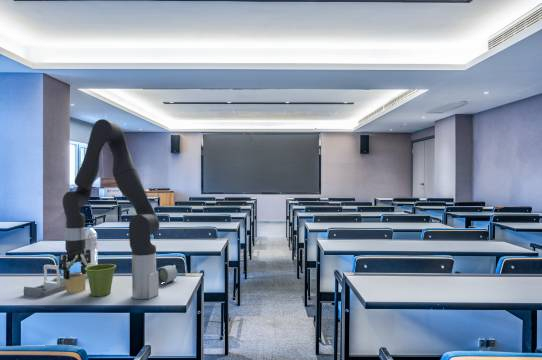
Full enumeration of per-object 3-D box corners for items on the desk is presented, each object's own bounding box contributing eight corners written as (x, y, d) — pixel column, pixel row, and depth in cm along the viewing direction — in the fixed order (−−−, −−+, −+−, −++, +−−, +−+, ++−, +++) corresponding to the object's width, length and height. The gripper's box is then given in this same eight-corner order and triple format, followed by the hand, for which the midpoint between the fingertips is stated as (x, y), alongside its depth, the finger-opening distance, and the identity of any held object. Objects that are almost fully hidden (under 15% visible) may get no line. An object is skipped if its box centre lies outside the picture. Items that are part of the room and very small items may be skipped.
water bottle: (91, 278, 177) (91, 226, 177) (78, 278, 179) (78, 226, 178) (100, 275, 184) (100, 224, 184) (88, 274, 185) (88, 224, 185)
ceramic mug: (178, 280, 173) (178, 264, 173) (168, 285, 165) (167, 268, 165) (159, 279, 177) (159, 262, 177) (148, 283, 169) (148, 266, 169)
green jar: (68, 286, 162) (68, 277, 162) (58, 290, 157) (58, 280, 157) (59, 285, 163) (59, 276, 163) (49, 289, 159) (49, 279, 159)
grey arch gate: (60, 289, 157) (60, 265, 156) (57, 290, 155) (56, 266, 155) (46, 288, 159) (46, 264, 159) (43, 289, 157) (43, 265, 157)
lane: (75, 287, 162) (75, 278, 162) (42, 299, 147) (42, 288, 147) (57, 285, 166) (57, 276, 166) (23, 296, 150) (23, 286, 150)
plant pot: (122, 291, 156) (122, 265, 156) (99, 300, 145) (99, 271, 145) (102, 288, 161) (102, 262, 161) (78, 296, 150) (78, 268, 150)
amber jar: (85, 291, 158) (85, 272, 158) (75, 294, 153) (75, 275, 153) (76, 290, 159) (76, 271, 159) (66, 293, 154) (66, 274, 154)
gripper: (68, 241, 148) (68, 282, 148) (95, 236, 162) (95, 273, 162) (54, 240, 150) (53, 280, 151) (82, 235, 164) (81, 271, 164)
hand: (75, 276), depth 156 cm, fingers open, 8 cm apart
